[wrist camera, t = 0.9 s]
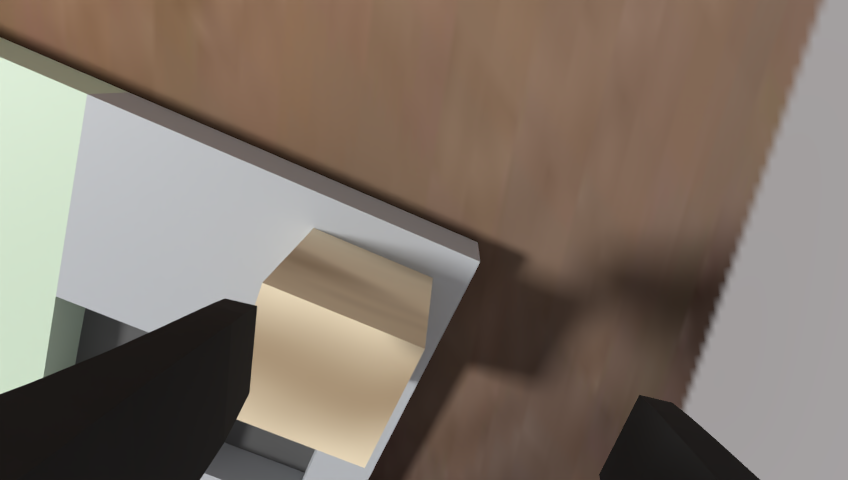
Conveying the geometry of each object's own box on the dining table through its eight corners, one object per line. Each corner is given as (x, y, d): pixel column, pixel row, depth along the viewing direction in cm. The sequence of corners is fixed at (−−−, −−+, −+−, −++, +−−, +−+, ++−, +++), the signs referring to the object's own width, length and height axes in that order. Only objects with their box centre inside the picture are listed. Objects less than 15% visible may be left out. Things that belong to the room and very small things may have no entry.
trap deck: (340, 514, 23) (330, 553, 21) (-78, 359, 21) (-129, 386, 20) (477, 242, 18) (480, 261, 16) (-64, 9, 16) (-132, 1, 14)
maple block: (386, 374, 18) (364, 468, 13) (276, 331, 17) (218, 412, 13) (432, 278, 16) (425, 349, 12) (313, 227, 16) (262, 282, 12)
